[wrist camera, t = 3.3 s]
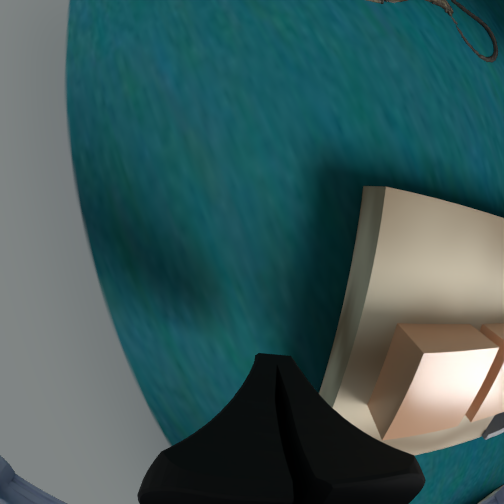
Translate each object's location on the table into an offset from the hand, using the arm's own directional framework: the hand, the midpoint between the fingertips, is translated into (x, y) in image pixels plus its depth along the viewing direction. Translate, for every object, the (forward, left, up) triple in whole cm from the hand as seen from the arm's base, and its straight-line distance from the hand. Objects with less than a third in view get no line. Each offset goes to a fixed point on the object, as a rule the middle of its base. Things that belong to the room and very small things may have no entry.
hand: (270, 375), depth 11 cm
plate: (0, -10, -3) cm, 11 cm away
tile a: (0, -7, -1) cm, 7 cm away
